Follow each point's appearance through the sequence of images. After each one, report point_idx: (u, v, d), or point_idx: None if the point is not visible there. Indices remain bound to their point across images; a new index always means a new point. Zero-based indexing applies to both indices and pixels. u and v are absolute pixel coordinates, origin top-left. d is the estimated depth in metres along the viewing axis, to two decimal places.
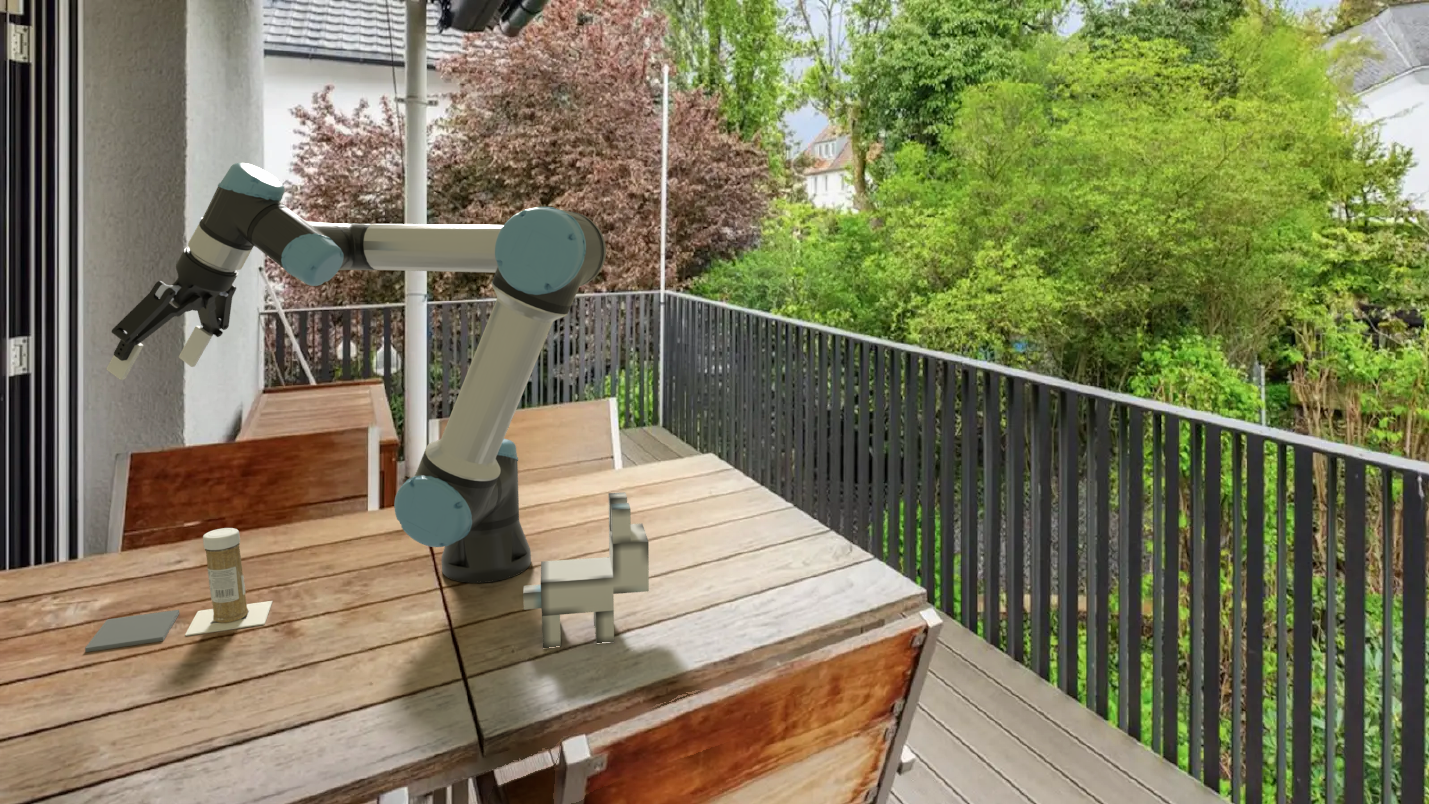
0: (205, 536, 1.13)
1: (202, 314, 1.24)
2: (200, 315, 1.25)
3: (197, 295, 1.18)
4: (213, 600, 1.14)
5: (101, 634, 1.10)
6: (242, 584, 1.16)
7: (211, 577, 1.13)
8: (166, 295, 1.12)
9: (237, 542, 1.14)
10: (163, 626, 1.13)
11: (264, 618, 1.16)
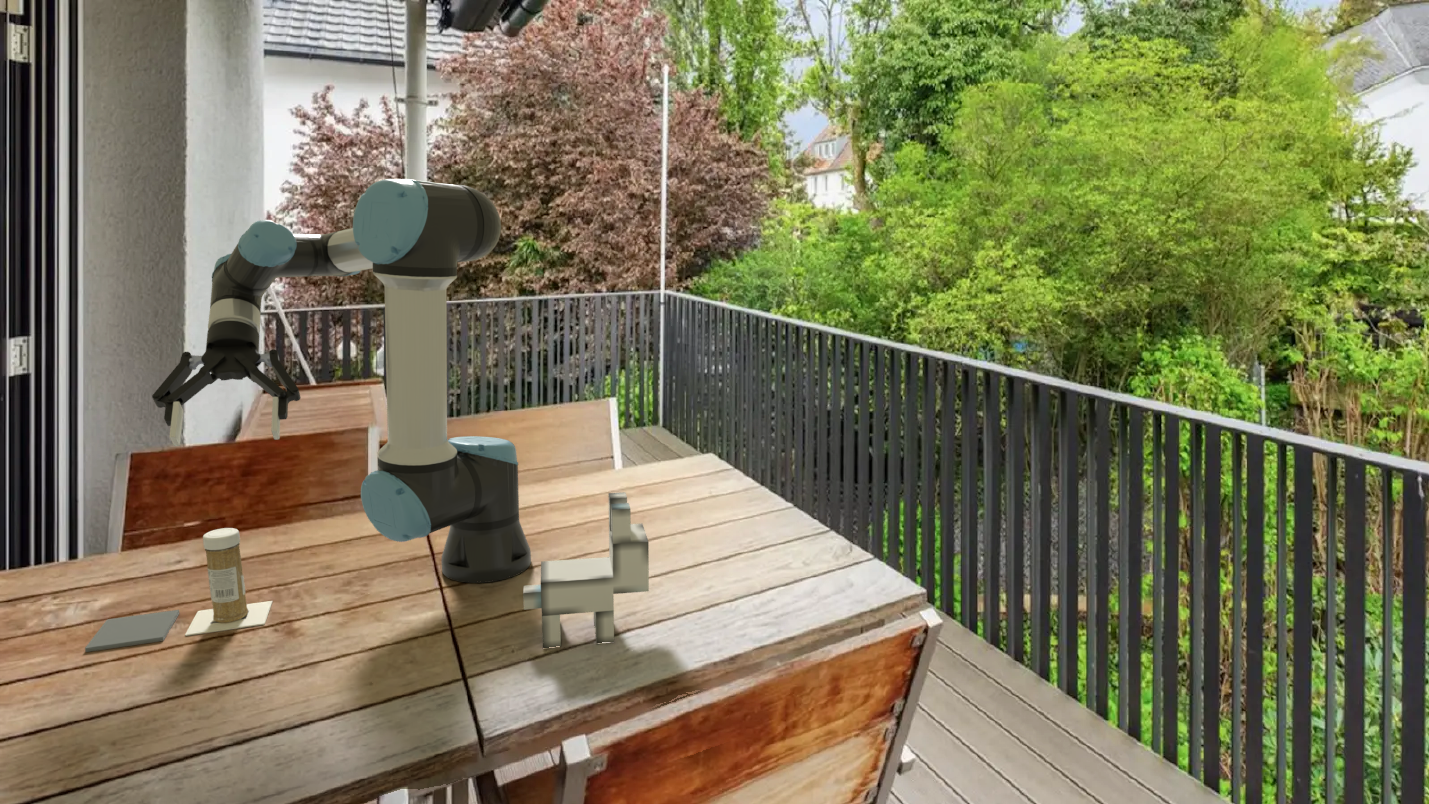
0: (205, 536, 1.13)
1: (261, 384, 1.28)
2: (266, 390, 1.28)
3: None
4: (213, 600, 1.14)
5: (101, 634, 1.10)
6: (242, 584, 1.16)
7: (211, 577, 1.13)
8: None
9: (237, 542, 1.14)
10: (163, 626, 1.13)
11: (264, 618, 1.16)
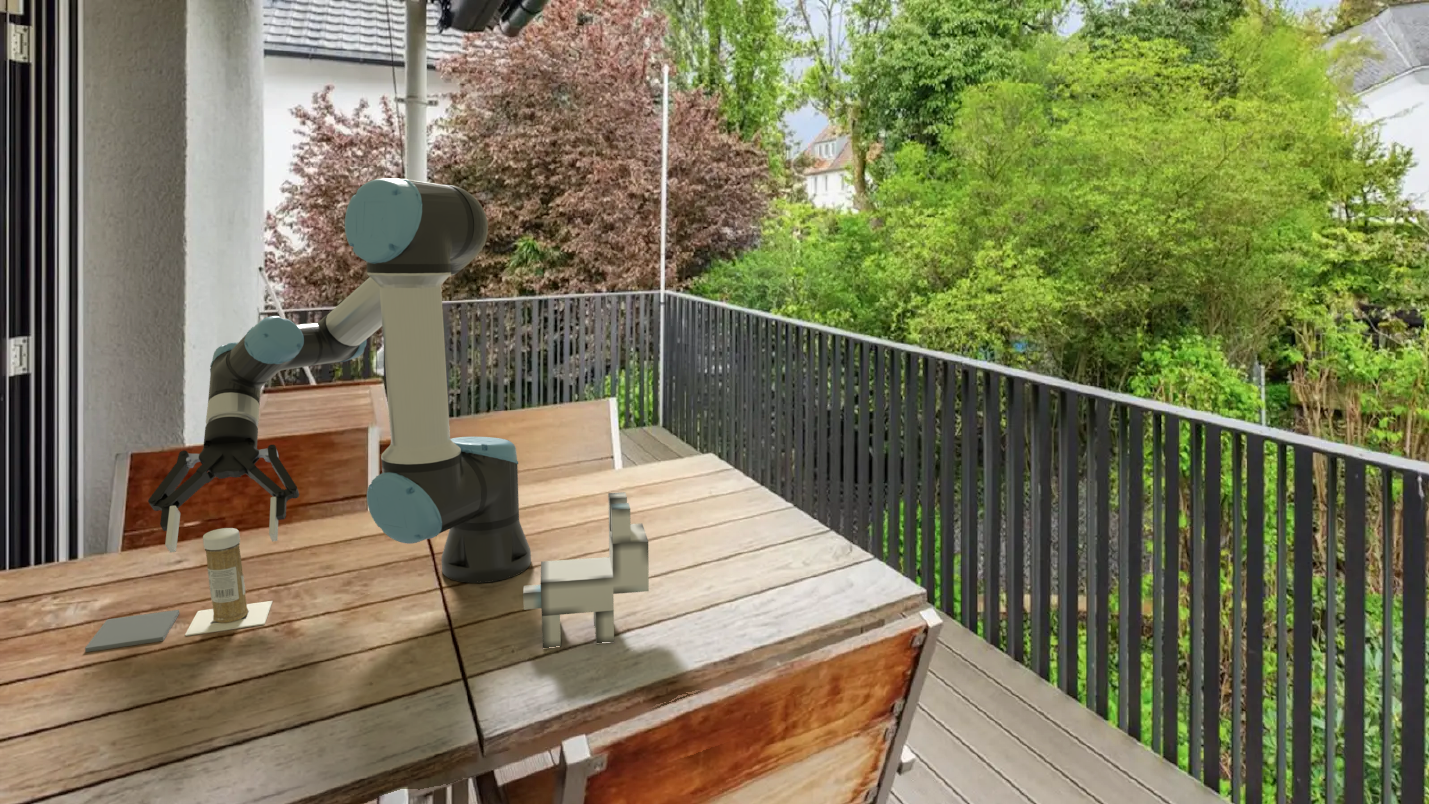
0: (205, 536, 1.13)
1: (259, 482, 1.26)
2: (264, 488, 1.26)
3: None
4: (213, 600, 1.14)
5: (101, 634, 1.10)
6: (242, 584, 1.16)
7: (211, 577, 1.13)
8: (178, 456, 1.24)
9: (237, 542, 1.14)
10: (163, 626, 1.13)
11: (264, 618, 1.16)
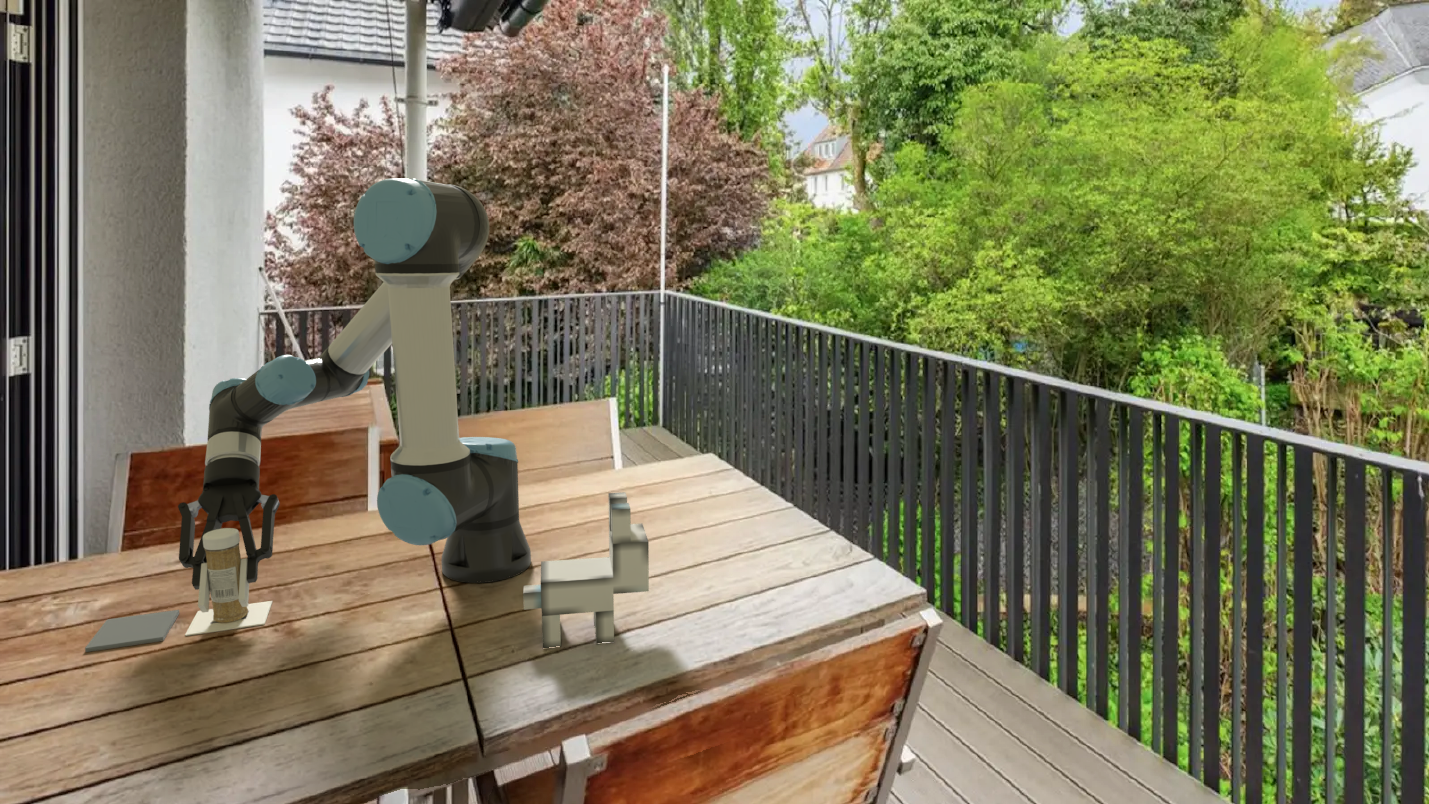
0: (205, 536, 1.13)
1: None
2: None
3: None
4: (213, 600, 1.14)
5: (101, 634, 1.10)
6: None
7: (211, 577, 1.13)
8: (179, 510, 1.17)
9: (237, 542, 1.14)
10: (163, 626, 1.13)
11: (264, 618, 1.16)
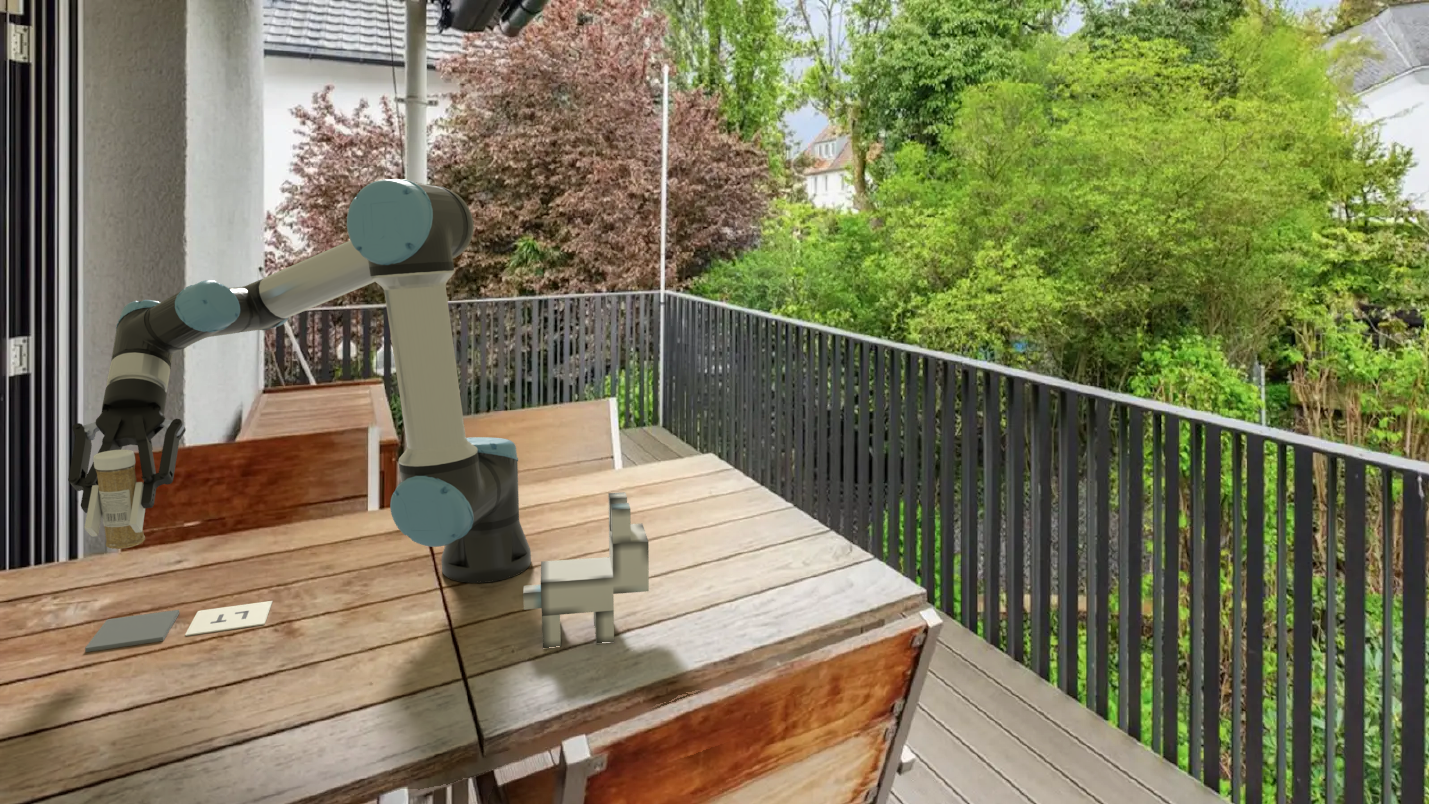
0: (95, 456, 1.06)
1: None
2: None
3: None
4: (105, 524, 1.08)
5: (101, 634, 1.10)
6: None
7: (102, 499, 1.07)
8: (73, 430, 1.11)
9: (131, 464, 1.08)
10: (163, 626, 1.13)
11: (264, 618, 1.16)
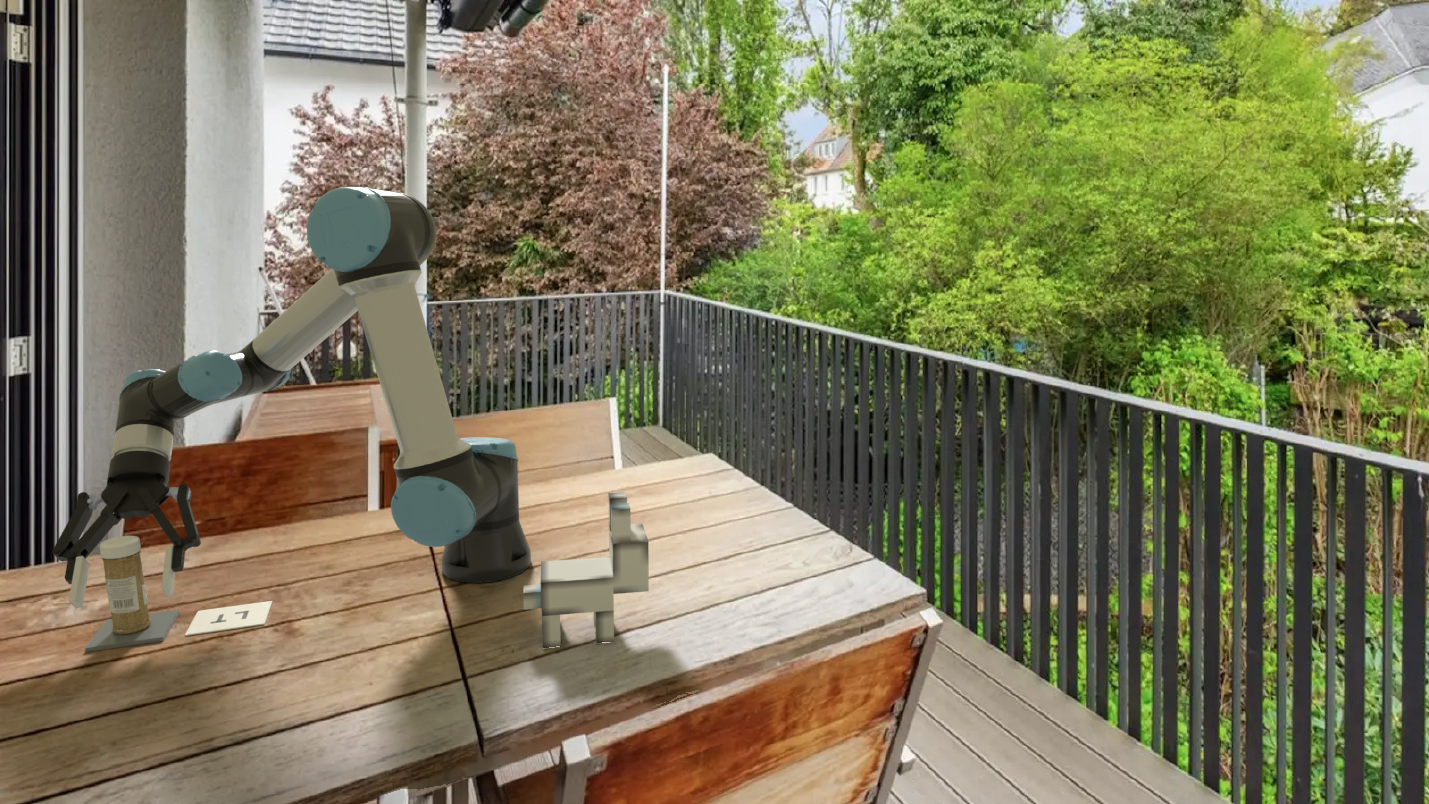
0: (102, 544, 1.08)
1: None
2: None
3: None
4: (111, 611, 1.09)
5: (101, 634, 1.10)
6: (143, 594, 1.11)
7: (108, 587, 1.09)
8: (78, 499, 1.13)
9: (137, 550, 1.10)
10: (163, 626, 1.13)
11: (264, 618, 1.16)
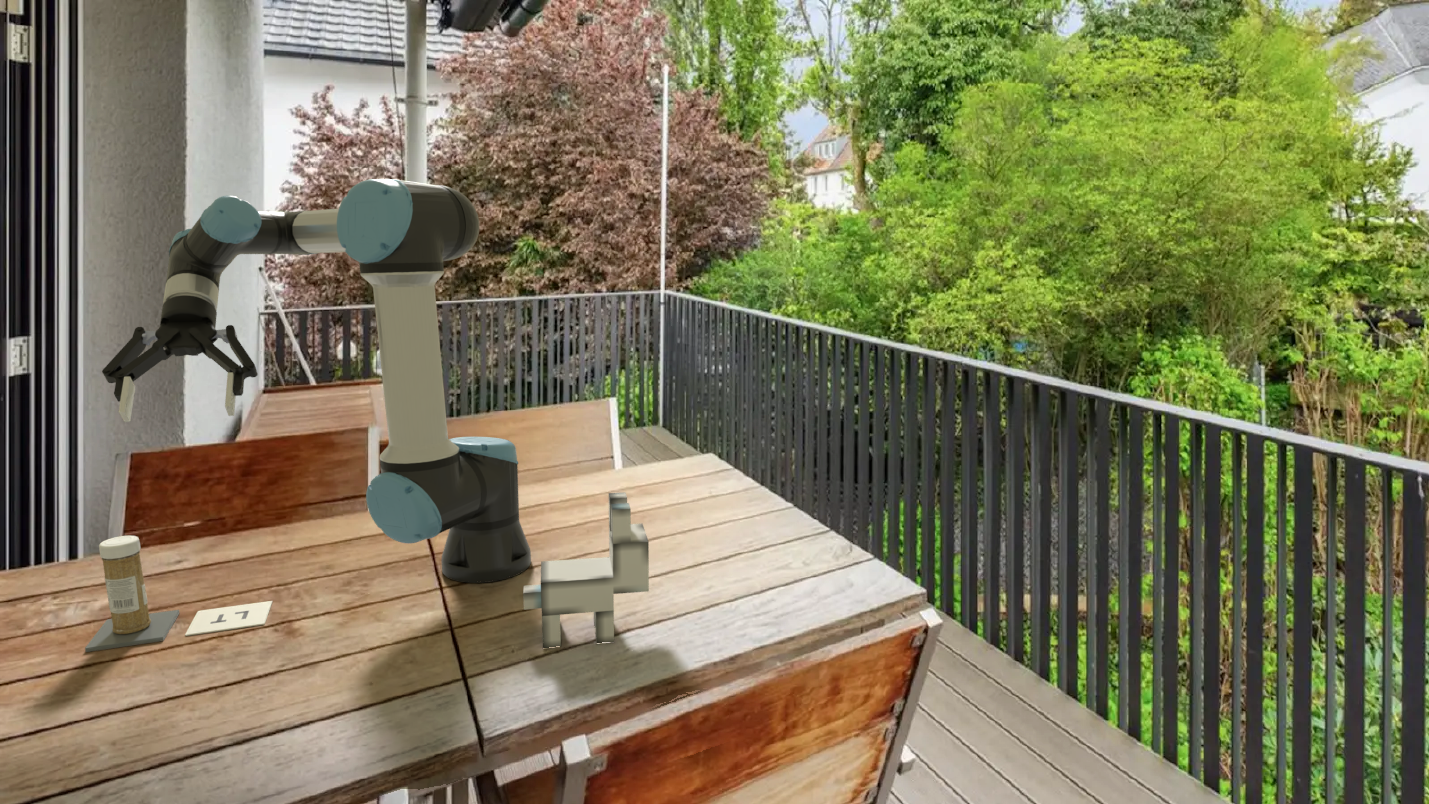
0: (101, 544, 1.08)
1: (216, 360, 1.25)
2: (222, 366, 1.26)
3: None
4: (111, 611, 1.09)
5: (101, 634, 1.10)
6: (143, 594, 1.11)
7: (108, 587, 1.09)
8: (134, 332, 1.23)
9: (136, 550, 1.10)
10: (163, 626, 1.13)
11: (264, 618, 1.16)
